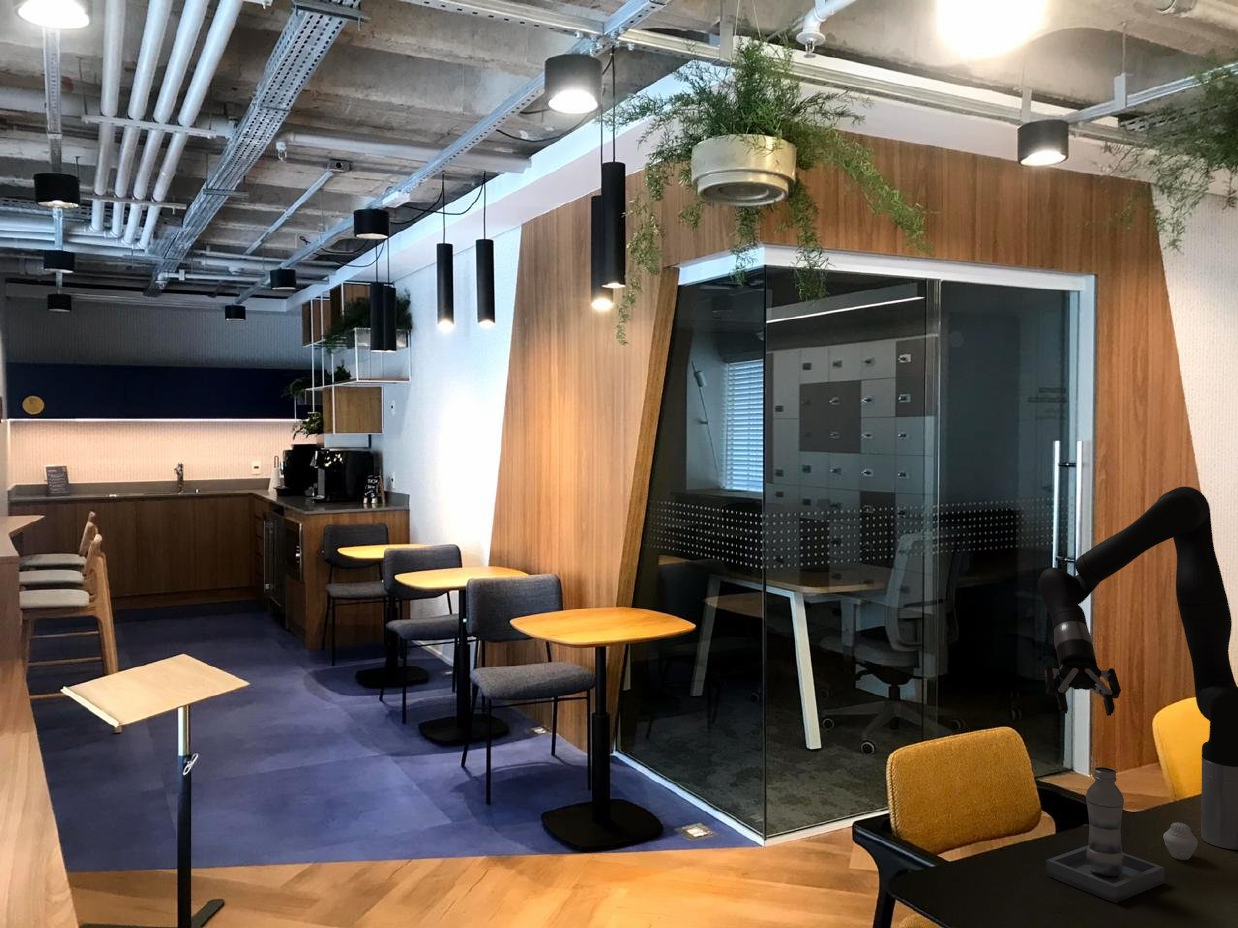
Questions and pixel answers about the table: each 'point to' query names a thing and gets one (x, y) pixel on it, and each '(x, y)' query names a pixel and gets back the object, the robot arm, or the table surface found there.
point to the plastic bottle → (1105, 824)
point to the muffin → (1180, 841)
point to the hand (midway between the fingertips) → (1087, 712)
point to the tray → (1111, 888)
